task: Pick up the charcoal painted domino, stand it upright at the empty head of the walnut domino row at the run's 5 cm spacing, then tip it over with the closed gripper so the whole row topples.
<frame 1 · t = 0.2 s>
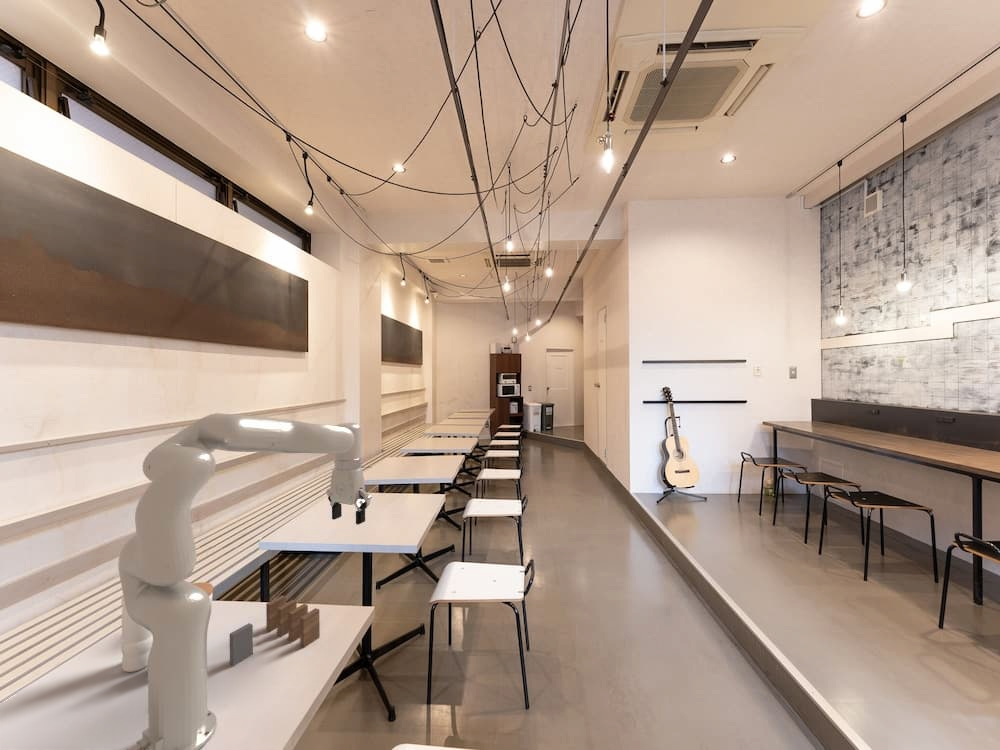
hand: (348, 520, 123), 31 cm above the table, fingers open, 9 cm apart
domino 2: (298, 636, 116), on the table
domino 4: (276, 626, 121), on the table
water bottle: (140, 664, 106), on the table
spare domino: (241, 659, 107), on the table
domino 1: (310, 641, 114), on the table
supplement bottle: (171, 668, 104), on the table
lidded bowl: (187, 623, 123), on the table
domino 3: (287, 631, 119), on the table
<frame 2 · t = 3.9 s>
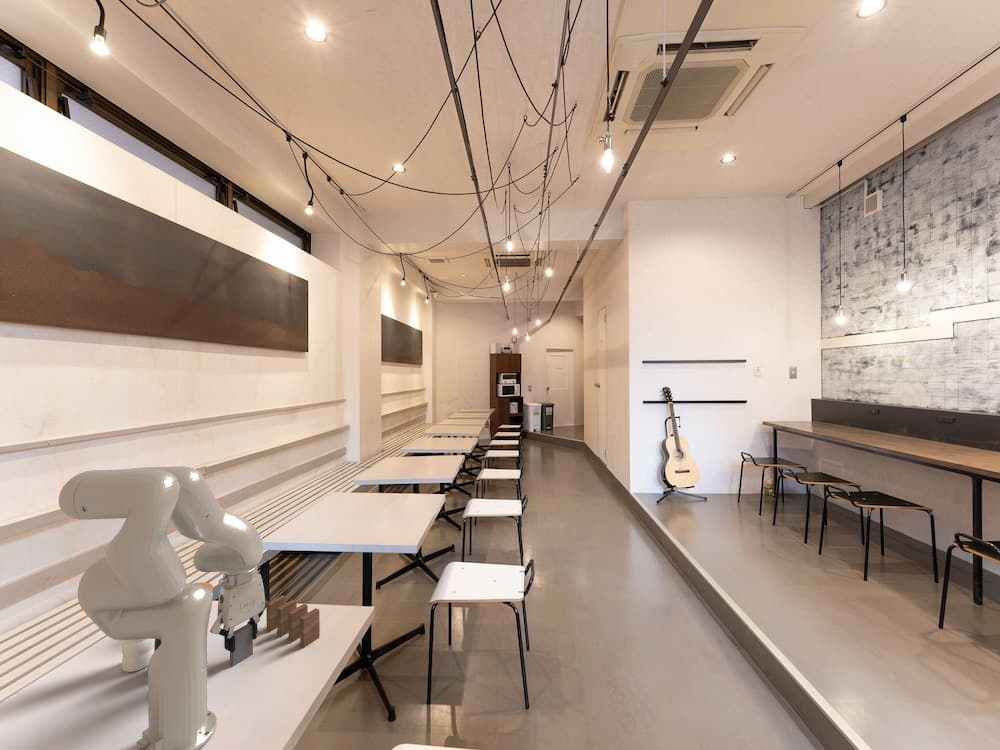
hand: (241, 643, 107), 4 cm above the table, fingers closed on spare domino, 4 cm apart
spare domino: (241, 659, 107), on the table, touching gripper
everything else where it was.
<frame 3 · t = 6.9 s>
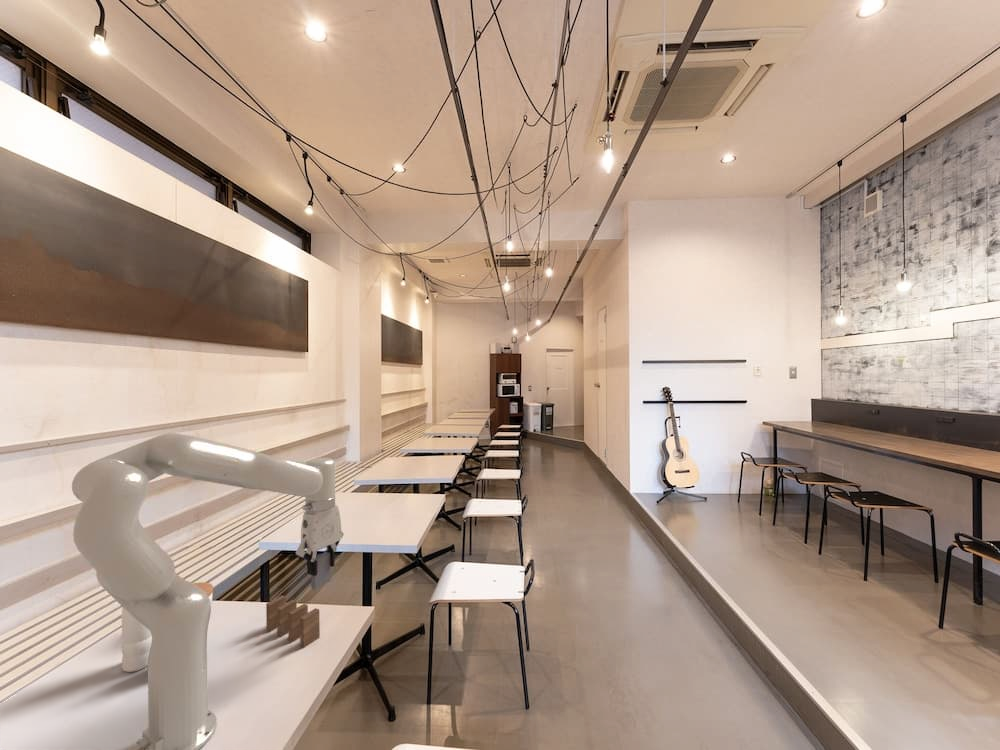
hand: (321, 569, 112), 21 cm above the table, fingers closed on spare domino, 4 cm apart
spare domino: (321, 584, 112), point 17 cm above the table, touching gripper
everything else where it was.
when the fingers open (5 cm above the table, at t = 10.4 s): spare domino stays where it is, on the table.
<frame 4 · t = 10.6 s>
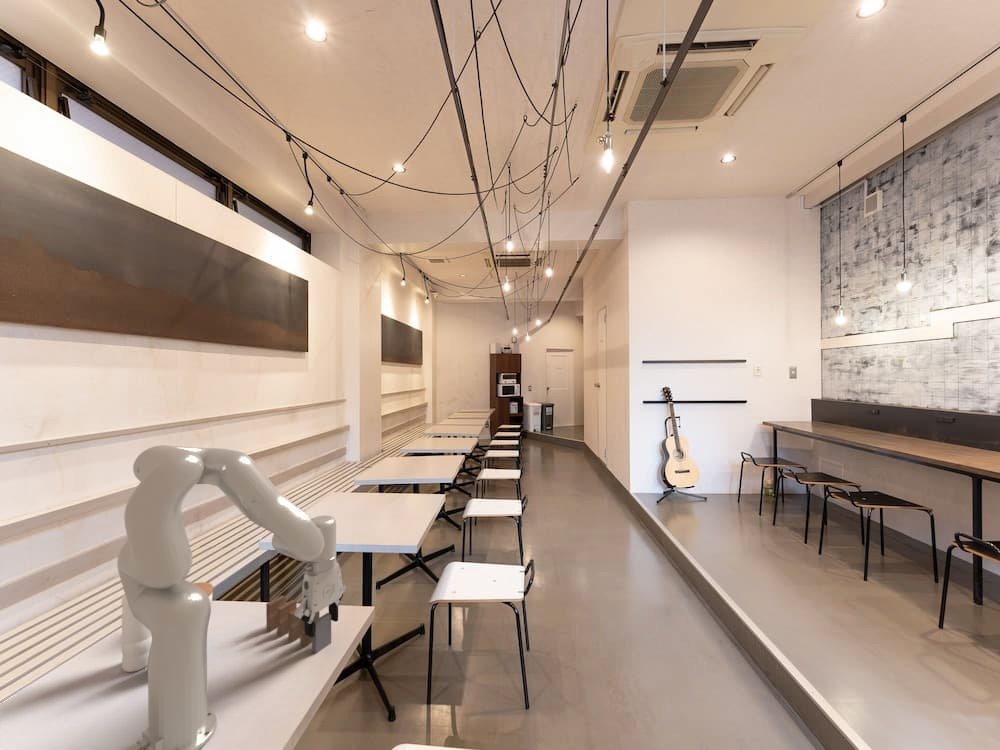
hand: (322, 627, 112), 6 cm above the table, fingers open, 7 cm apart
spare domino: (321, 647, 112), on the table
everything else where it was.
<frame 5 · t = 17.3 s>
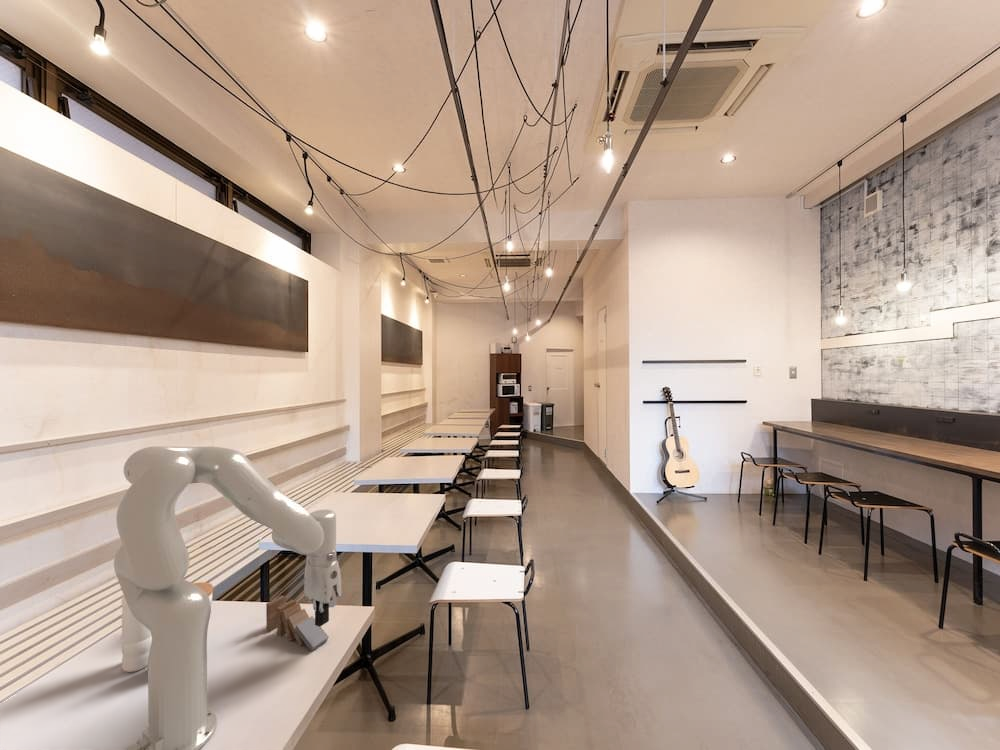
hand: (322, 623, 112), 7 cm above the table, fingers closed
domino 2: (298, 635, 117), on the table, tilted 27°, touching domino 1
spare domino: (320, 644, 112), point 1 cm above the table, tilted 59°, touching domino 1
domino 1: (309, 639, 114), point 1 cm above the table, tilted 47°, touching domino 2, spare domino
everything else where it was.
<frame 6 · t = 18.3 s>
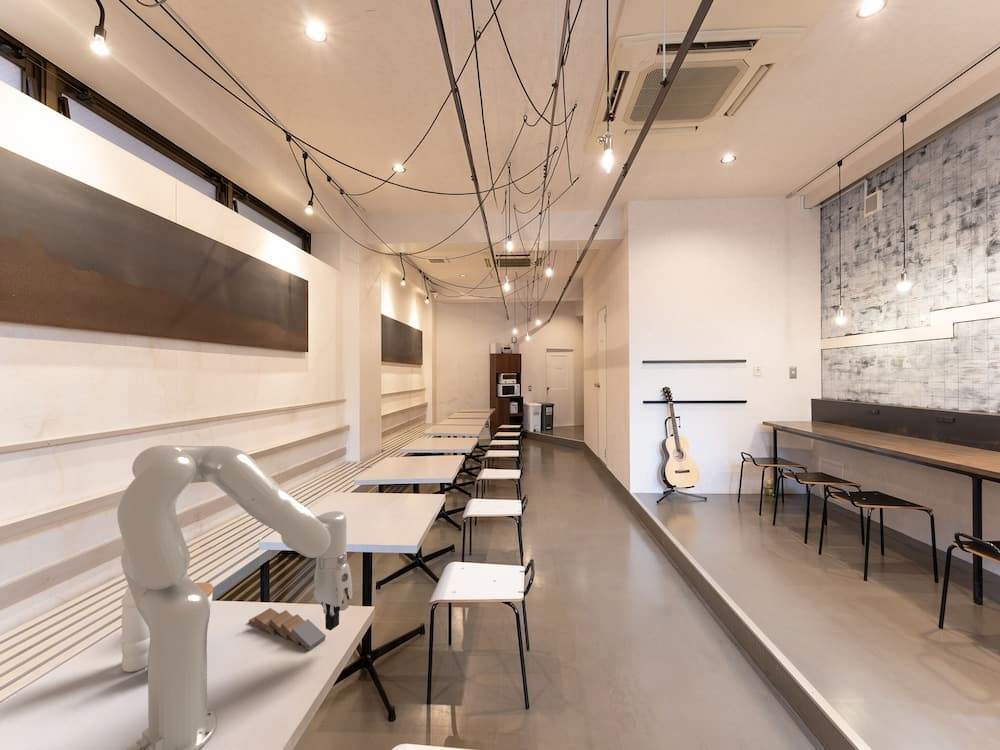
hand: (332, 626, 110), 7 cm above the table, fingers closed
domino 2: (294, 632, 117), point 1 cm above the table, tilted 72°, touching domino 1
domino 4: (273, 625, 122), on the table, tilted 90°, touching domino 3
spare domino: (317, 643, 112), point 1 cm above the table, tilted 71°, touching domino 1
domino 1: (306, 637, 115), point 1 cm above the table, tilted 72°, touching domino 2, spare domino
domino 3: (281, 626, 120), point 1 cm above the table, tilted 77°, touching domino 4
everything else where it was.
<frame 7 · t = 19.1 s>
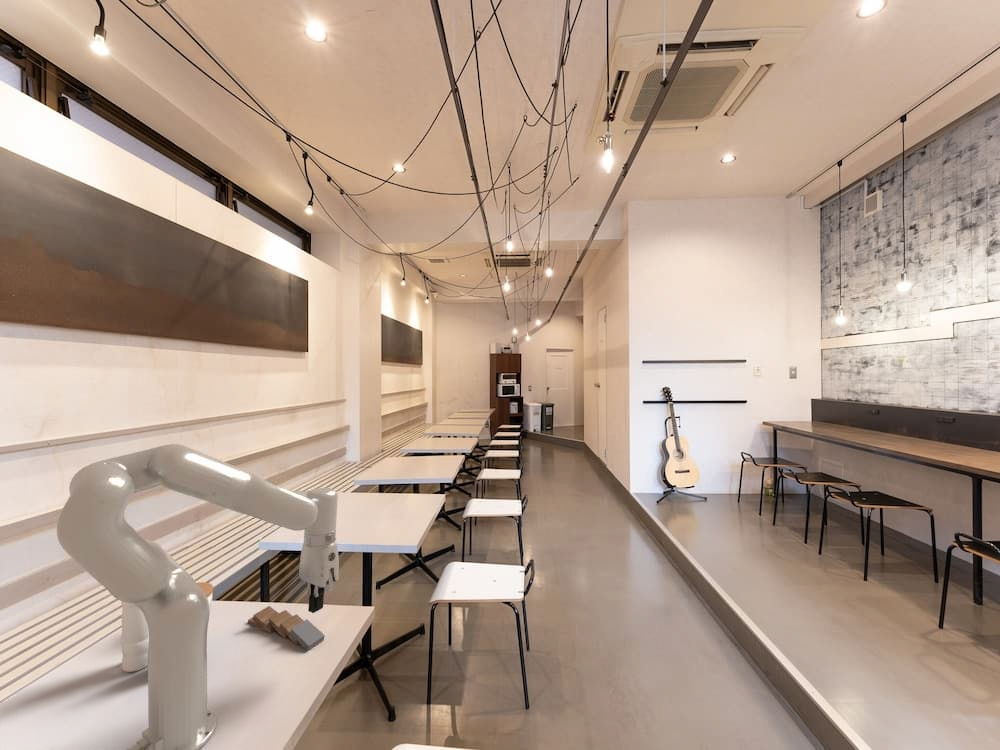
hand: (315, 609, 105), 14 cm above the table, fingers closed
domino 2: (293, 631, 118), point 1 cm above the table, tilted 74°, touching domino 1, domino 3
domino 4: (272, 625, 122), on the table, tilted 90°
domino 3: (278, 626, 120), point 1 cm above the table, tilted 74°, touching domino 2
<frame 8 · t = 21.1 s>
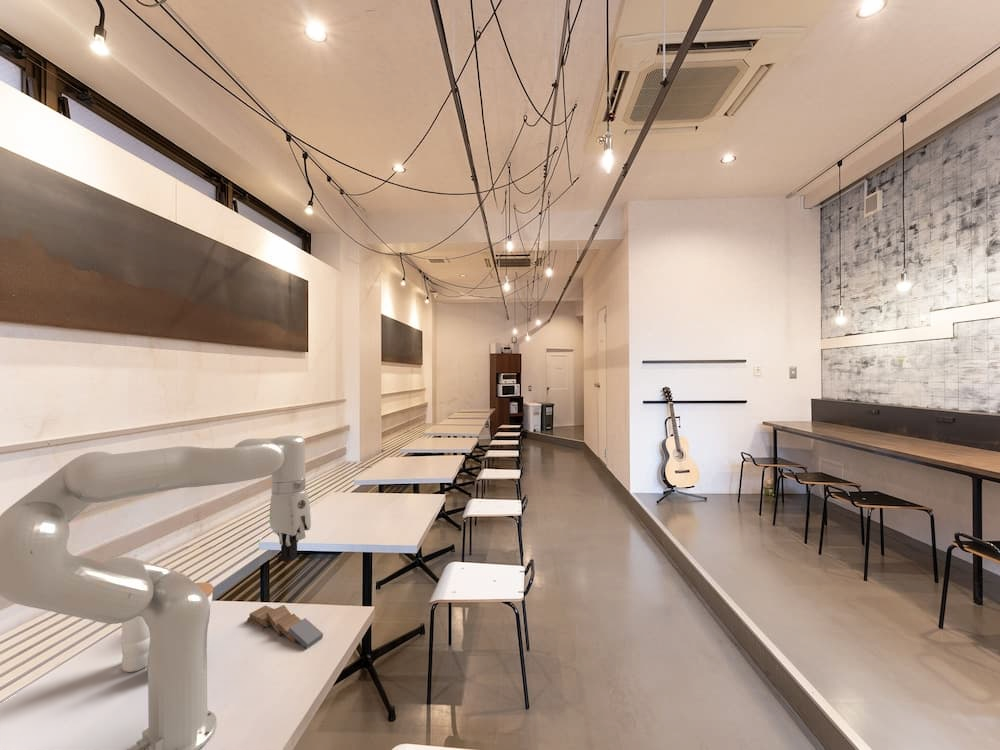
hand: (289, 559, 101), 29 cm above the table, fingers closed
domino 2: (288, 628, 119), point 1 cm above the table, tilted 71°, touching domino 1
domino 4: (271, 624, 122), on the table, tilted 90°
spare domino: (315, 641, 113), point 1 cm above the table, tilted 73°, touching domino 1
domino 1: (302, 635, 116), point 1 cm above the table, tilted 74°, touching domino 2, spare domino
domino 3: (274, 619, 122), point 2 cm above the table, tilted 90°
everything else where it was.
at the end: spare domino inside the target area (1.8 cm from its centre), point 0.7 cm above the table; domino 1 tilted 74°; domino 4 tilted 90° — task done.
